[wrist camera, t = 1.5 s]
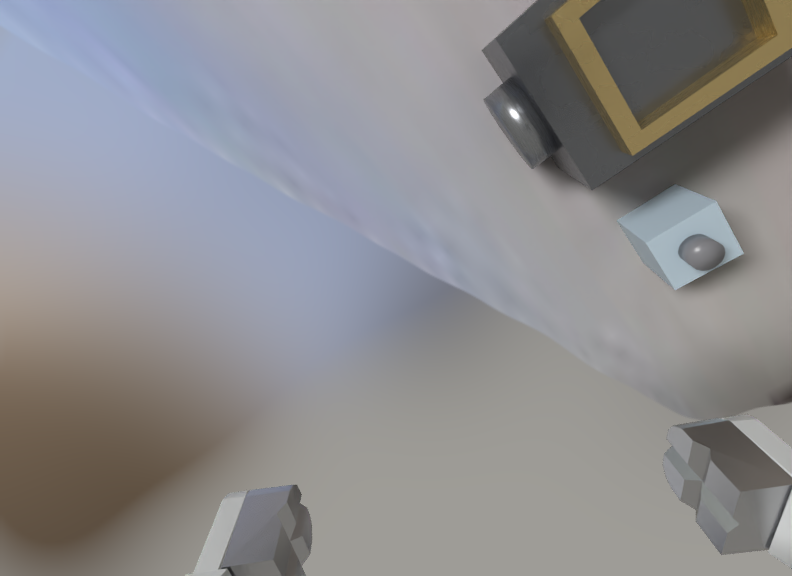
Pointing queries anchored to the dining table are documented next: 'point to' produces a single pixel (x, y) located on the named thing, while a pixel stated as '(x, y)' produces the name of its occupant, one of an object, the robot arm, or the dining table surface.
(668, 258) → the light blue block
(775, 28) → the dark grey toaster
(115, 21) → the dining table surface
